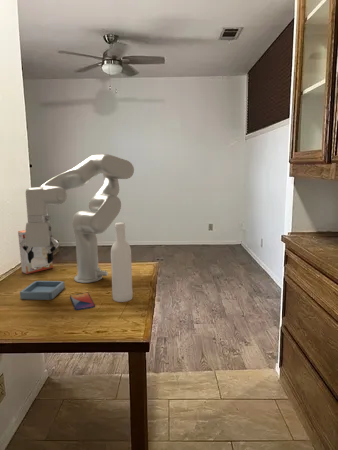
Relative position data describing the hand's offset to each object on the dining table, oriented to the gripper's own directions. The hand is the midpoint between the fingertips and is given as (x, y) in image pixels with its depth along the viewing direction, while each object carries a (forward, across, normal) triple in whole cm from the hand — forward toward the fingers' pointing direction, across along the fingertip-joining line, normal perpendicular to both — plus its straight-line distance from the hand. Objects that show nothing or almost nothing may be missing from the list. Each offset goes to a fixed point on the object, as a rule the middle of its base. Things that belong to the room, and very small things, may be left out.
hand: (40, 261), depth 144 cm
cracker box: (+13, +17, -31) cm, 38 cm away
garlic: (+2, 0, +2) cm, 2 cm away
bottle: (+13, -34, +4) cm, 37 cm away
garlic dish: (+13, 0, 0) cm, 13 cm away
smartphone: (+14, -19, +8) cm, 25 cm away
